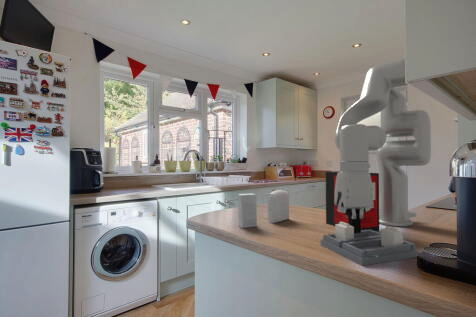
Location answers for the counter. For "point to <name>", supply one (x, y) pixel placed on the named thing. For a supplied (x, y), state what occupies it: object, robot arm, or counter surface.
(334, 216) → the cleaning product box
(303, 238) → the counter surface
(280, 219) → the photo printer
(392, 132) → the robot arm
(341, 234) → the tab
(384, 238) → the tab
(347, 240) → the switch board
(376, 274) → the counter surface
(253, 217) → the skincare box
